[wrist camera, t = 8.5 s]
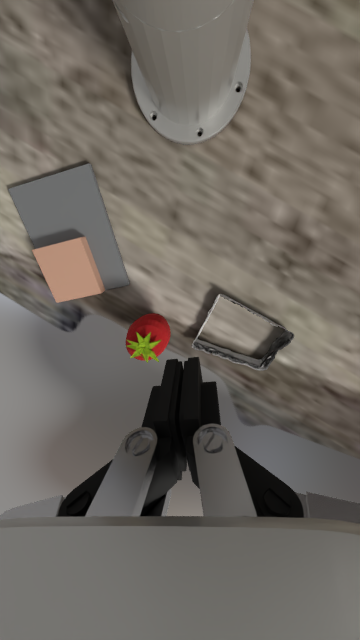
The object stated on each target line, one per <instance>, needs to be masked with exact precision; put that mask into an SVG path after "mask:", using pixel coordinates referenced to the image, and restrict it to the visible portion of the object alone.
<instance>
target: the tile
mask: <svg viewBox="0 0 360 640" xmlns="http://www.w3.org/2000/svg"><path fill="white" fill-rule="evenodd" d="M32 251H33V253H34V255H35V258H36V260H37V262H38V264H39V266H40V268H41V270H42V273H43V275H44V277H45V279H46V281H47V283H48V285H49V287H50V290H51V292H52V294H53V296H54V298H55V300H56V302H57V303H58V302H63V301H67V300H72V299H77V298H81V297H86V296H91V295H95V294H100V293H102V292H104V291H105V288H104V285H103V282H102V280H101V277H100V274H99V272H98V269H97V266H96V264H95V261H94V258H93V255H92V253H91V250H90V247H89V245H88V242H87V239H86V237H81V238H77V239H73V240H69V241H65V242H61V243H57V244H53V245H50V246H46V247H42V248H38V249H34V250H32Z"/></svg>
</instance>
